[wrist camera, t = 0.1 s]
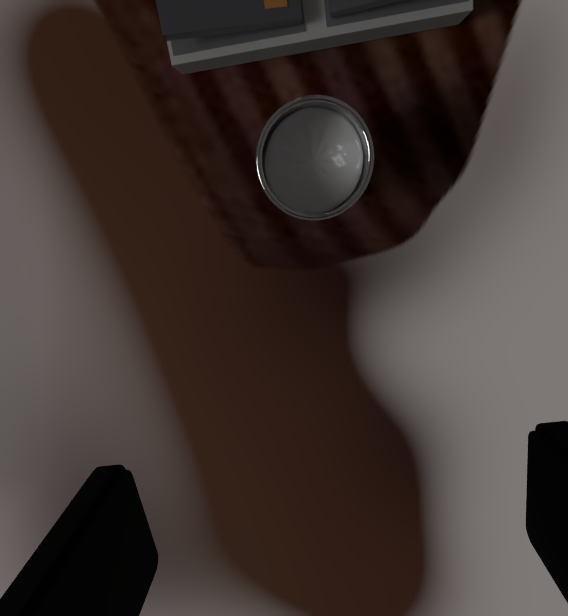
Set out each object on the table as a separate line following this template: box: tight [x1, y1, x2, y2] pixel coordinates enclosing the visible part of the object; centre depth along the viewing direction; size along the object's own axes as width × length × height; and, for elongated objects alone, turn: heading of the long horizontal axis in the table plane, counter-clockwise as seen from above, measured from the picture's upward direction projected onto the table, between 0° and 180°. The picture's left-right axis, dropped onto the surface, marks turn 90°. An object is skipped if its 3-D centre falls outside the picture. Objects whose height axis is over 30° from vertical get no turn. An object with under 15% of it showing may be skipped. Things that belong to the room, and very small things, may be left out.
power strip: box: [167, 0, 473, 74], centre depth 31 cm, size 23×6×3 cm, turn 98°
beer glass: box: [256, 95, 374, 220], centre depth 30 cm, size 7×7×15 cm
